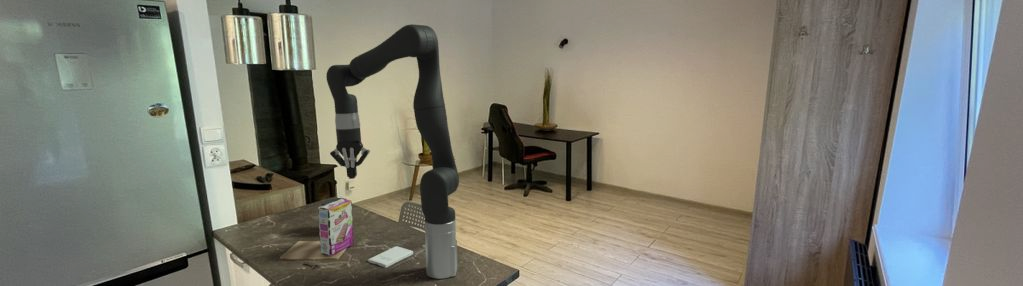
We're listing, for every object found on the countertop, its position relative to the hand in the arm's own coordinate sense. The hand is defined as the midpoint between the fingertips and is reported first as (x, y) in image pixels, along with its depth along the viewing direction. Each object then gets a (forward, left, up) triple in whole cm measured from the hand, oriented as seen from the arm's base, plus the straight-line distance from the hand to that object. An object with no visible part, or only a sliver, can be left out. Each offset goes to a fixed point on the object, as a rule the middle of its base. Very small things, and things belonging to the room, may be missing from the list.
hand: (352, 178), depth 157 cm
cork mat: (+14, 0, -26) cm, 29 cm away
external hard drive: (-13, +5, -27) cm, 30 cm away
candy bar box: (+6, 0, -26) cm, 26 cm away
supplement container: (+14, -18, -26) cm, 35 cm away
